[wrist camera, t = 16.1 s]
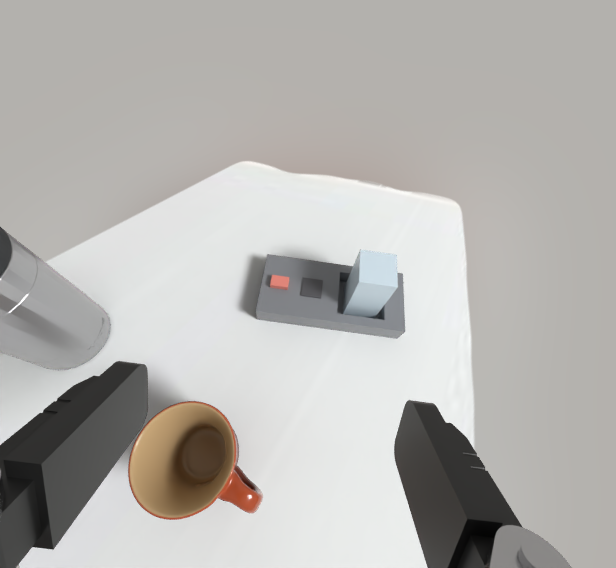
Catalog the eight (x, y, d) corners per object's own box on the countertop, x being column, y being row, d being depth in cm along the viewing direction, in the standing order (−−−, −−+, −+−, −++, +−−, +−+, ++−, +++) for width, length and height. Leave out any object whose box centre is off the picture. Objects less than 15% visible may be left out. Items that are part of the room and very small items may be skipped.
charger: (342, 314, 44) (359, 281, 35) (344, 286, 46) (360, 248, 37) (373, 318, 44) (397, 287, 35) (373, 290, 46) (396, 253, 37)
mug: (149, 469, 34) (103, 477, 25) (202, 397, 38) (178, 382, 29) (238, 537, 32) (223, 574, 23) (284, 454, 36) (287, 457, 27)
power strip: (257, 319, 43) (255, 308, 40) (268, 264, 47) (267, 251, 44) (397, 338, 44) (407, 329, 40) (395, 283, 48) (404, 270, 44)
